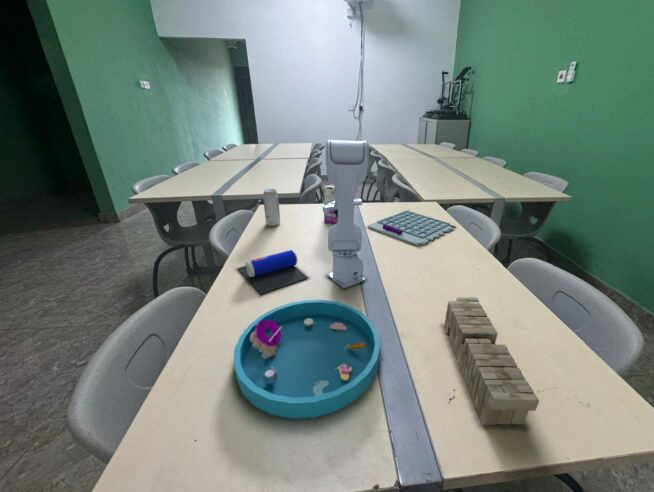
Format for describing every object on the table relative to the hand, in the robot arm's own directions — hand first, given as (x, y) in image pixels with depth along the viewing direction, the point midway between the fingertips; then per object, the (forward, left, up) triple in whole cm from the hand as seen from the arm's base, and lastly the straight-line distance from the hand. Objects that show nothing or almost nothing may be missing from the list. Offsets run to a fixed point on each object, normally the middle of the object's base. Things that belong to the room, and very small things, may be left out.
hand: (343, 228), depth 108 cm
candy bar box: (+28, -17, -11) cm, 34 cm away
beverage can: (+3, +17, -7) cm, 19 cm away
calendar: (+4, -40, -11) cm, 42 cm away
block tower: (-59, +7, -11) cm, 60 cm away
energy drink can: (+42, +7, -11) cm, 44 cm away
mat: (+3, +25, -10) cm, 27 cm away
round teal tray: (-34, +33, -11) cm, 49 cm away
